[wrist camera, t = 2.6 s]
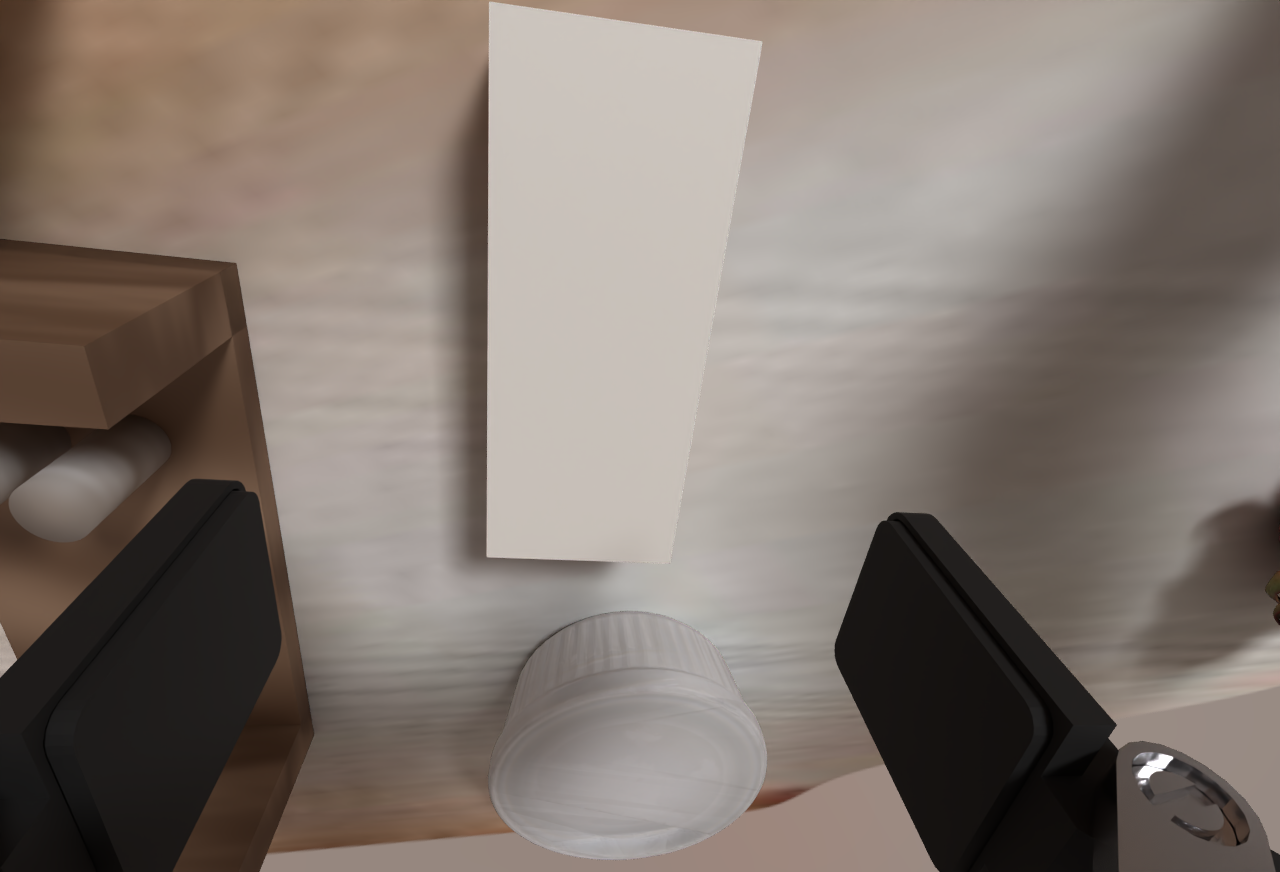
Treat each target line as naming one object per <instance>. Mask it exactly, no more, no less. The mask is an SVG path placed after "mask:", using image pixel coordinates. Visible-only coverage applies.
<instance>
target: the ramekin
mask: <svg viewBox="0 0 1280 872" xmlns="http://www.w3.org/2000/svg"><path fill="white" fill-rule="evenodd" d="M766 769H767V751H766V745H765V741H764V737H763V733H762V730H761V728H760V725H759V723H758V721H757V719H756V717H755V715H754V714H753V712H752V711H751V710H750V708H749V707H748V706H747V705H746V703H745V702H744V700H743V698H742V696H741V693H740V691H739V689H738V687H737V685H736V683H735V681H734V678H733V676H732V674H731V672H730V670H729V668H728V666H727V664H726V662H725V660H724V658H723V657H722V655H721V654H720V652H719V650H718V649H717V648H716V647H715V646H714V645H713V644H712V642H711V641H710V640H709V639H708V638H706V637H705V636H703V635H702V634H701V633H700V632H699V631H697V630H695V629H693V628H691V627H690V626H688V625H686V624H683V623H681V622H679V621H677V620H675V619H672V618H669V617H667V616H663V615H659V614H654V613H648V612H639V611H620V612H612V613H605V614H600V615H596V616H593V617H589V618H586V619H583V620H581V621H578V622H576V623H574V624H572V625H570V626H568V627H566V628H564V629H562V630H561V631H559V632H558V633H556V634H555V635H554V636H552V637H551V638H549V639H548V640H546V641H545V642H544V643H543V644H542V645H541V646H540V647H539V648H538V649H536V651H535V652H534V654H533V655H532V656H531V657H530V658H529V659H528V661H527V663H526V665H525V667H524V668H523V670H522V671H521V674H520V677H519V680H518V683H517V686H516V689H515V692H514V696H513V699H512V703H511V706H510V709H509V712H508V715H507V719H506V722H505V725H504V729H503V732H502V733H501V735H500V736H499V738H498V740H497V742H496V744H495V747H494V749H493V752H492V756H491V761H490V767H489V773H488V788H489V794H490V798H491V801H492V804H493V806H494V808H495V810H496V812H497V813H498V815H499V816H500V817H501V819H502V820H503V821H504V822H505V823H506V824H507V825H508V826H509V827H510V828H511V829H512V830H513V831H515V832H516V833H517V834H519V835H520V836H521V837H523V838H525V839H527V840H528V841H530V842H532V843H533V844H536V845H538V846H541V847H543V848H545V849H548V850H551V851H554V852H557V853H561V854H565V855H569V856H574V857H580V858H587V859H598V860H627V859H638V858H645V857H652V856H658V855H662V854H667V853H671V852H674V851H678V850H681V849H684V848H687V847H689V846H692V845H694V844H697V843H699V842H701V841H703V840H705V839H707V838H709V837H711V836H713V835H715V834H716V833H718V832H720V831H721V830H723V829H725V828H726V827H727V826H729V825H730V824H731V823H732V822H734V821H735V820H736V819H737V818H739V817H740V816H741V815H742V814H743V813H744V812H745V811H746V810H747V809H748V807H749V806H750V805H751V804H752V802H753V801H754V799H755V798H756V796H757V794H758V793H759V791H760V789H761V787H762V785H763V782H764V779H765V774H766Z"/></svg>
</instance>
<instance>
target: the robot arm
mask: <svg viewBox="0 0 1280 872" xmlns="http://www.w3.org/2000/svg"><path fill="white" fill-rule="evenodd" d="M281 642H282V634H281V627H280V621H279V615H278V609H277V603H276V597H275V591H274V585H273V579H272V574H271V568H270V562H269V556H268V550H267V544H266V538H265V532H264V526H263V520H262V514H261V508H260V502H259V499H258V496H257V494H256V493H254V492H249V491H246V489H245V487H244V485H243V484H242V483H241V482H240V481H236V480H215V479H191V480H189V481H188V482H187V483H185V484H184V485H183V487H182V488H181V489H180V490H179V491H178V492H177V493H176V494H175V495H174V496H173V497H172V498H171V499H170V500H169V501H168V502H167V503H166V504H165V505H164V506H163V508H162V509H161V510H160V511H159V512H158V513H157V514H156V515H155V516H154V517H153V518H152V519H151V520H150V521H149V522H148V523H147V524H146V525H145V526H144V528H143V529H142V530H141V531H140V532H139V533H138V534H137V535H136V536H135V537H134V538H133V539H132V540H131V541H130V542H129V543H128V544H127V545H126V546H125V548H124V549H123V550H122V551H121V552H120V553H119V554H118V555H117V556H116V557H115V558H114V559H113V560H112V561H111V562H110V563H109V564H108V565H107V566H106V568H105V569H104V570H103V571H102V572H101V573H100V574H99V575H98V576H97V577H96V578H95V579H94V580H93V581H92V582H91V583H90V584H89V585H88V586H87V587H86V588H85V589H84V590H83V591H82V592H81V594H80V595H79V596H78V597H77V598H76V599H75V600H74V601H73V602H72V603H71V604H70V605H69V606H68V607H67V608H66V609H65V610H64V611H63V612H62V614H61V615H60V616H59V617H58V618H57V619H56V620H55V621H54V622H53V623H52V624H51V625H50V626H49V627H48V628H47V629H46V630H45V631H44V632H43V633H42V635H41V636H40V637H39V638H38V639H37V640H36V641H35V642H34V643H33V644H32V645H31V646H30V647H29V648H28V649H27V650H26V651H25V652H24V653H23V655H22V656H21V657H20V658H19V659H18V660H17V661H16V662H15V663H14V664H13V665H12V666H11V667H10V668H9V669H8V670H7V671H6V672H5V673H4V675H3V676H2V677H1V678H0V872H173V869H174V867H175V865H176V863H177V861H178V859H179V857H180V855H181V853H182V851H183V849H184V847H185V845H186V843H187V841H188V839H189V837H190V835H191V833H192V831H193V829H194V827H195V825H196V823H197V821H198V819H199V817H200V815H201V813H202V811H203V809H204V807H205V805H206V803H207V801H208V799H209V797H210V795H211V793H212V791H213V789H214V787H215V785H216V783H217V781H218V779H219V777H220V775H221V773H222V771H223V769H224V767H225V765H226V762H227V760H228V758H229V756H230V754H231V752H232V750H233V748H234V746H235V744H236V742H237V740H238V738H239V736H240V734H241V732H242V730H243V728H244V726H245V724H246V722H247V720H248V718H249V716H250V714H251V712H252V710H253V708H254V706H255V704H256V702H257V700H258V698H259V696H260V694H261V692H262V690H263V688H264V686H265V684H266V682H267V680H268V678H269V676H270V674H271V672H272V670H273V668H274V666H275V664H276V661H277V659H278V657H279V653H280V649H281ZM835 659H836V662H837V665H838V668H839V670H840V672H841V674H842V676H843V678H844V680H845V682H846V684H847V686H848V688H849V690H850V692H851V694H852V697H853V699H854V701H855V703H856V705H857V707H858V709H859V711H860V713H861V715H862V717H863V719H864V721H865V724H866V726H867V728H868V730H869V732H870V734H871V736H872V738H873V740H874V742H875V744H876V746H877V748H878V750H879V753H880V755H881V757H882V759H883V761H884V763H885V765H886V767H887V769H888V771H889V773H890V775H891V777H892V779H893V782H894V784H895V786H896V788H897V790H898V792H899V794H900V796H901V798H902V800H903V802H904V804H905V806H906V809H907V811H908V813H909V814H910V817H911V819H912V821H913V823H914V825H915V827H916V829H917V831H918V833H919V835H920V838H921V839H922V842H923V844H924V846H925V848H926V850H927V852H928V854H929V856H930V858H931V860H932V862H933V864H934V865H935V867H936V868H937V869H938V870H939V872H1280V855H1279V854H1278V853H1276V852H1274V851H1272V850H1270V847H1269V842H1268V838H1267V835H1266V832H1265V830H1264V828H1263V826H1262V823H1261V822H1260V819H1259V817H1258V816H1257V815H1256V813H1255V812H1254V811H1253V809H1252V808H1251V806H1250V805H1249V804H1248V803H1247V801H1246V800H1245V799H1244V798H1243V797H1242V796H1241V795H1240V794H1239V793H1238V792H1237V791H1236V790H1235V789H1234V788H1233V787H1232V786H1231V785H1230V784H1229V783H1228V782H1227V781H1225V780H1224V779H1223V778H1221V777H1220V776H1219V775H1217V774H1216V773H1215V772H1213V771H1212V770H1211V769H1209V768H1208V767H1206V766H1205V765H1203V764H1202V763H1200V762H1198V761H1196V760H1194V759H1193V758H1191V757H1189V756H1187V755H1186V754H1184V753H1182V752H1179V751H1177V750H1174V749H1171V748H1169V747H1166V746H1164V745H1161V744H1156V743H1150V742H1145V741H1139V742H1130V743H1127V744H1126V745H1125V746H1123V747H1122V748H1120V749H1119V750H1118V749H1117V748H1116V747H1115V746H1114V744H1113V743H1112V742H1111V741H1110V740H1109V739H1108V737H1109V736H1110V734H1111V733H1112V731H1113V730H1114V729H1115V727H1116V726H1117V725H1116V723H1115V722H1114V721H1113V720H1112V719H1111V718H1110V717H1109V715H1108V714H1107V713H1106V712H1105V711H1104V710H1103V709H1102V707H1101V706H1100V705H1099V704H1098V703H1097V702H1096V701H1095V699H1094V698H1093V697H1092V696H1091V695H1090V694H1089V693H1088V691H1087V690H1086V689H1085V688H1084V687H1083V686H1082V685H1081V683H1080V682H1079V681H1078V680H1077V679H1076V678H1075V677H1074V675H1073V674H1072V673H1071V672H1070V671H1069V670H1068V669H1067V667H1066V666H1065V665H1064V664H1063V663H1062V662H1061V661H1060V660H1059V658H1058V657H1057V656H1056V655H1055V654H1054V653H1053V652H1052V650H1051V649H1050V648H1049V647H1048V646H1047V645H1046V644H1045V642H1044V641H1043V640H1042V639H1041V638H1040V637H1039V636H1038V634H1037V633H1036V632H1035V631H1034V630H1033V629H1032V628H1031V626H1030V625H1029V624H1028V623H1027V622H1026V621H1025V620H1024V618H1023V617H1022V616H1021V615H1020V614H1019V613H1018V612H1017V610H1016V609H1015V608H1014V607H1013V606H1012V605H1011V604H1010V602H1009V601H1008V600H1007V599H1006V598H1005V597H1004V596H1003V594H1002V593H1001V592H1000V591H999V590H998V589H997V588H996V587H995V585H994V584H993V583H992V582H991V581H990V580H989V579H988V577H987V576H986V575H985V574H984V573H983V572H982V571H981V569H980V568H979V567H978V566H977V565H976V564H975V563H974V561H973V560H972V559H971V558H970V557H969V556H968V555H967V553H966V552H965V551H964V550H963V549H962V548H961V547H960V545H959V544H958V543H957V542H956V541H955V540H954V539H953V537H952V536H951V535H950V534H949V533H948V532H947V531H946V529H945V528H944V527H943V526H942V525H941V524H940V523H939V521H938V520H937V519H936V518H935V517H933V516H932V515H930V514H922V513H901V512H896V513H893V514H891V515H890V516H889V517H888V519H887V521H882V522H881V523H880V524H879V525H878V527H877V529H876V531H875V534H874V537H873V540H872V542H871V545H870V548H869V551H868V553H867V556H866V559H865V562H864V564H863V567H862V570H861V573H860V575H859V578H858V581H857V584H856V586H855V589H854V592H853V595H852V597H851V600H850V603H849V606H848V609H847V611H846V614H845V617H844V620H843V622H842V625H841V628H840V631H839V633H838V636H837V639H836V642H835Z"/></svg>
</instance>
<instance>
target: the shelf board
mask: <svg viewBox="0 0 1280 872" xmlns="http://www.w3.org/2000/svg"><path fill="white" fill-rule="evenodd" d="M762 42H763V41H756V40H749V39H743V38H736V37H729V36H722V35H715V34H708V33H701V32H695V31H688V30H681V29H674V28H667V27H660V26H653V25H647V24H640V23H633V22H626V21H619V20H612V19H605V18H599V17H592V16H585V15H578V14H571V13H564V12H557V11H551V10H544V9H537V8H530V7H523V6H516V5H509V4H503V3H496V2H489V145H488V364H487V557H492V558H521V559H550V560H579V561H608V562H636V563H665V564H670V561H671V555H672V550H673V544H674V539H675V533H676V527H677V522H678V516H679V510H680V505H681V499H682V493H683V488H684V482H685V477H686V471H687V465H688V460H689V454H690V448H691V443H692V437H693V431H694V426H695V420H696V414H697V409H698V403H699V398H700V392H701V386H702V381H703V375H704V369H705V364H706V358H707V352H708V347H709V341H710V336H711V330H712V324H713V319H714V313H715V307H716V302H717V296H718V290H719V285H720V279H721V274H722V268H723V262H724V257H725V251H726V245H727V240H728V234H729V228H730V223H731V217H732V211H733V206H734V200H735V195H736V189H737V183H738V178H739V172H740V166H741V161H742V155H743V149H744V144H745V138H746V133H747V127H748V121H749V116H750V110H751V104H752V99H753V93H754V87H755V82H756V76H757V71H758V65H759V59H760V54H761V48H762Z"/></svg>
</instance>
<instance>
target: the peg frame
mask: <svg viewBox="0 0 1280 872" xmlns="http://www.w3.org/2000/svg"><path fill="white" fill-rule="evenodd" d="M191 479H215V480H236V481H240V482H241V483H242V484H243V485H244V487H245V489H246V491H249V492H254V493H256V494H257V496H258V499H259V502H260V508H261V514H262V520H263V526H264V532H265V538H266V544H267V550H268V556H269V562H270V568H271V574H272V579H273V585H274V591H275V597H276V603H277V609H278V615H279V621H280V627H281V634H282V642H281V649H280V653H279V657H278V659H277V661H276V664H275V666H274V668H273V670H272V672H271V674H270V676H269V678H268V680H267V682H266V684H265V686H264V688H263V690H262V692H261V694H260V696H259V698H258V700H257V702H256V704H255V706H254V708H253V710H252V712H251V714H250V716H249V718H248V720H247V722H246V724H245V726H244V728H243V730H242V732H241V734H240V736H239V738H238V740H237V742H236V744H235V746H234V748H233V750H232V752H231V754H230V756H229V758H228V760H227V762H226V765H225V767H224V769H223V771H222V773H221V775H220V777H219V779H218V781H217V783H216V785H215V787H214V789H213V791H212V793H211V795H210V797H209V799H208V801H207V803H206V805H205V807H204V809H203V811H202V813H201V815H200V817H199V819H198V821H197V823H196V825H195V827H194V829H193V831H192V833H191V835H190V837H189V839H188V841H187V843H186V845H185V847H184V849H183V851H182V853H181V855H180V857H179V859H178V861H177V863H176V865H175V867H174V869H173V872H259V871H260V869H261V866H262V864H263V861H264V859H265V856H266V854H267V851H268V849H269V846H270V844H271V841H272V839H273V836H274V834H275V831H276V829H277V826H278V824H279V821H280V819H281V816H282V814H283V811H284V809H285V806H286V804H287V801H288V799H289V796H290V794H291V791H292V789H293V786H294V784H295V781H296V779H297V776H298V774H299V771H300V769H301V766H302V764H303V761H304V759H305V756H306V754H307V751H308V749H309V746H310V744H311V741H312V739H313V736H314V732H313V726H312V720H311V714H310V708H309V702H308V696H307V690H306V684H305V678H304V672H303V665H302V659H301V653H300V647H299V641H298V635H297V629H296V623H295V617H294V611H293V605H292V599H291V593H290V586H289V580H288V574H287V568H286V562H285V556H284V550H283V544H282V538H281V532H280V526H279V520H278V514H277V508H276V501H275V495H274V489H273V483H272V477H271V471H270V465H269V459H268V453H267V447H266V441H265V435H264V429H263V422H262V416H261V410H260V404H259V398H258V392H257V386H256V380H255V374H254V368H253V362H252V356H251V350H250V344H249V337H248V331H247V325H246V319H245V313H244V307H243V301H242V295H241V289H240V283H239V277H238V271H237V265H236V263H230V262H220V261H210V260H200V259H190V258H181V257H171V256H161V255H151V254H142V253H132V252H122V251H112V250H102V249H93V248H83V247H73V246H63V245H53V244H44V243H34V242H24V241H14V240H5V239H0V623H1V625H2V627H3V629H4V631H5V634H6V636H7V638H8V640H9V642H10V645H11V647H12V649H13V651H14V653H15V655H16V658H17V660H18V659H19V658H20V657H21V656H22V655H23V653H24V652H25V651H26V650H27V649H28V648H29V647H30V646H31V645H32V644H33V643H34V642H35V641H36V640H37V639H38V638H39V637H40V636H41V635H42V633H43V632H44V631H45V630H46V629H47V628H48V627H49V626H50V625H51V624H52V623H53V622H54V621H55V620H56V619H57V618H58V617H59V616H60V615H61V614H62V612H63V611H64V610H65V609H66V608H67V607H68V606H69V605H70V604H71V603H72V602H73V601H74V600H75V599H76V598H77V597H78V596H79V595H80V594H81V592H82V591H83V590H84V589H85V588H86V587H87V586H88V585H89V584H90V583H91V582H92V581H93V580H94V579H95V578H96V577H97V576H98V575H99V574H100V573H101V572H102V571H103V570H104V569H105V568H106V566H107V565H108V564H109V563H110V562H111V561H112V560H113V559H114V558H115V557H116V556H117V555H118V554H119V553H120V552H121V551H122V550H123V549H124V548H125V546H126V545H127V544H128V543H129V542H130V541H131V540H132V539H133V538H134V537H135V536H136V535H137V534H138V533H139V532H140V531H141V530H142V529H143V528H144V526H145V525H146V524H147V523H148V522H149V521H150V520H151V519H152V518H153V517H154V516H155V515H156V514H157V513H158V512H159V511H160V510H161V509H162V508H163V506H164V505H165V504H166V503H167V502H168V501H169V500H170V499H171V498H172V497H173V496H174V495H175V494H176V493H177V492H178V491H179V490H180V489H181V488H182V487H183V485H184V484H185V483H187V482H188V481H189V480H191Z"/></svg>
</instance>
